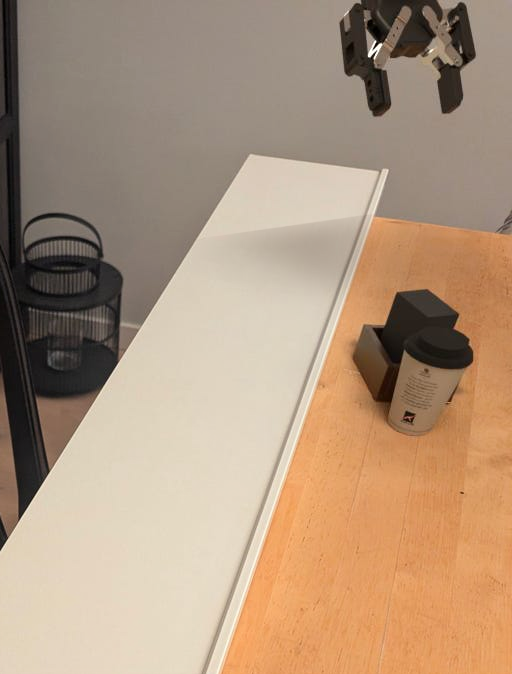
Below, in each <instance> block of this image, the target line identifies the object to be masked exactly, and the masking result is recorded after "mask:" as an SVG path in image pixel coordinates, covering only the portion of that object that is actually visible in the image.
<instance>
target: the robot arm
mask: <svg viewBox="0 0 512 674" xmlns="http://www.w3.org/2000/svg"><path fill="white" fill-rule="evenodd" d="M339 32H340V44H341V53H342V63H343V73H344V74H345V75H346V77H349V78H350V77H353V76H357V77H359V78H360V80H361V81H362V82H363V83H364V89H365V93H366V94H365V96H366V101H367V107H368V110H369V111H370V112H371V113H372V114H371V115H372V116H373V118H378V117H382V116H384V115H385V114H386V113H387V112H388V111H389V110H390V109H391V107H392V98H391V90H390V83H389V77H388V71H387V69H383V68H384V67H385V65H386V64H387V61H388V59H399V58H400V57H405V58H409V59H413V58H417V60H418V61H419V62H420V63H421V65H423V66H425V67H426V66H428V67H429V68H430V69H431V70H432V72H433V73H434V74H435V75H436V77H437V78H438V79H437V80H436V84H437V90H438V96H439V105H440V108H441V110H440V111H441V114H443V115H450V114H452V113H453V112H454V111H456V110H457V109H458V108H459V107H460V106H461V104H462V101H463V99H464V90H463V84H462V77H461V71H462V70H463V69H464V68H465V67H466V66H467V65H469V64H470V63H471V62H472V61H474V60H475V59H476V57H477V53H476V47H475V44H474V38H473V32H472V28H471V21H470V16H469V13H468V8H467V5H466V3H465V2H462V1H460V2H458V3H457V4H456V5H455V6H454V7H452V8H442V7H441V5H440V3H439V1H438V0H360V2H355V3H354V4H353V5H352V6H351V7H350V8H349V9H348V11H347V12H346V13H345V14H344V15H343V17H341V19H340V20H339ZM367 32H368V33H369V35H370V36H371V38H372V39H373V40H374V42H373V44H372V46H371V48H370V50H368V40H367V39H368V38H367ZM433 40H434V41H435V42H436V46H435V47H434V48H432V49H429V48H428V47H429V46H430V45H431V44H432V42H433ZM460 48H461V50H460ZM439 55H441V56H442V57H443V58H444V60H445V61H446V62H444V61H443V59H442V58H441V57H440V56H439Z"/></svg>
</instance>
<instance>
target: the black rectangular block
mask: <svg viewBox="0 0 512 674" xmlns="http://www.w3.org/2000/svg"><path fill="white" fill-rule="evenodd" d="M393 298H394V299H393V301H392V305H391V307H390V310H389V313H388V315H387V318H386V320H385V323H384V325H385V327H384V329H383V332H382V335H381V338H380V342H381V344H382V346H383V347H384V349H385V351H386V352H387V354H388V356H389V358H390V359H391V361H392V363H396V364H401V362H402V358H403V354H404V350H405V349H404V347H403V346H404V342H405V341H406V339H407V338H408V337H409V336H411V335H412V334H413V333H416V332H420V331H421V330H422V329H424V328H427V327H443V328H450V329H455V327H456V324H457V322H458V319H459V317H460V315H461V314H460V313H459V312H458V311H457V310H455V309H454V308H453V307H452V306H451V305H449V304H447V303H446V302H445V301H444V300H443V299H441V298H440V297H438V295H436V294H434V293H433V292H432V291H431V290H429V289H428V288H423V289H422V288H421V289H413V290H403V291H396V293H395V295H394V297H393Z"/></svg>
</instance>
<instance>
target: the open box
mask: <svg viewBox="0 0 512 674" xmlns="http://www.w3.org/2000/svg"><path fill="white" fill-rule="evenodd" d="M384 327H385V324H367V323H364V324H363V325H362V328H361V331H360V334H359V336H358V340H357V342H356V345H355V349H354V352H353V355H352V360H353V362H354V364H355V365H356V367H357V369H358V371H359V373H360V375H361V378H362V379H363V381H364V383H365V384H366V386H367V388H368V390H369V392H370V395H371V396H372V398H373V400H374V401H375V402H380V403H381V402H384V403H392V399H393V395H394V391H395V387H396V382H397V378H398V374H399V370H400V366H401V364H396V363H392V361H391V359H390V358H389V356H388V354H387V352H386V351H385V349H384V347H383V346H382V344H381V342H380V338H381V335H382V332H383V329H384ZM461 379H462V378H461ZM461 379H460V381H459V383H458V384H457V386H456V388H455V389H454V391H453V393H452V394H451V396H450V398H449V399H448V401H447V402H452V401H453V398H454V396H455V394H456V391H457V389H458V387H459V385H460V382H461Z"/></svg>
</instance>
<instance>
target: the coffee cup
mask: <svg viewBox="0 0 512 674" xmlns="http://www.w3.org/2000/svg"><path fill="white" fill-rule="evenodd" d="M403 347H404V349H405V350H404V354H403V358H402V362H401V366H400V370H399V374H398V378H397V382H396V387H395V391H394V395H393V399H392V402H390V408H389V410H388V411H389V412H388V416H387V419H386V420H387V424H388V425H389V426H390V427H391V428H392V429H393V430H395V431H397V432H399V433H401V434H402V435H403V434H404V435H408V436H413V437H414V436H416V437H420V436H425V435H428V434H429V433H430V432H431V430H432V429H433V427H434V425H435V423H436V422H437V420H438V418H439V416H440V415H441V413H442V411H443V409H444V408H445V406H446V405H447V404H446V403H447V401H448V399H449V398H450V396H451V394H452V393H453V391H454V389H455V388H456V386H457V384H458V383H459V384H460V382H461V380H460V379H462V377H464V374H465V373H466V371H467V369H468V368H469V367H470V366H471V365H472V364H473V363H474V349H473V348H472V347H471V346H470V338H469V337H468V336H467V335H466V334H464V333H463V332H461V331H459V330H457V329H455V328H454V329H450V328H443V327H427V328H424V329H422V330H421V331H420V332H416V333H413V334H412V335H411V336H409V337H408V338H407V339H406V341H405V342H404V346H403ZM459 381H460V382H459ZM459 384H458V385H459Z"/></svg>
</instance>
